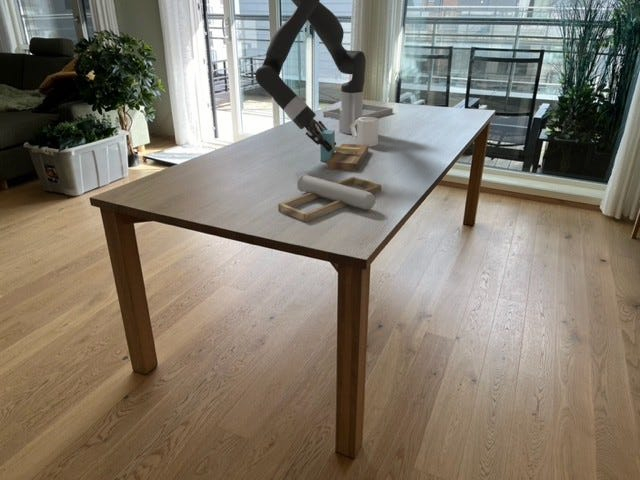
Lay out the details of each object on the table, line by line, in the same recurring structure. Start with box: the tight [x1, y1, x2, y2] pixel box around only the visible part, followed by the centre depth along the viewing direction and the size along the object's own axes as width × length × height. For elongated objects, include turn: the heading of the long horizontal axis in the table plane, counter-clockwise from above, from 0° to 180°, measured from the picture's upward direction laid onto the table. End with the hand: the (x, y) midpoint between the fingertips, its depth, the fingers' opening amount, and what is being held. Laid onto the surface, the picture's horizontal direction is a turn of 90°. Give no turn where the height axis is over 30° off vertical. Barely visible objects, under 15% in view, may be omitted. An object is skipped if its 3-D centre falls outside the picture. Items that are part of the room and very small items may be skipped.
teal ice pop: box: [319, 129, 360, 163], centre depth 170 cm, size 14×5×10 cm, turn 75°
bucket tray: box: [322, 103, 394, 120], centre depth 241 cm, size 21×29×2 cm
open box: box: [326, 143, 369, 172], centre depth 172 cm, size 10×24×3 cm, turn 165°
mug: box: [350, 117, 380, 147], centre depth 190 cm, size 12×9×10 cm
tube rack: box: [277, 176, 382, 223], centre depth 136 cm, size 11×31×2 cm, turn 135°
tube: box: [296, 173, 376, 211], centre depth 134 cm, size 5×5×25 cm
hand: (332, 147), depth 171 cm, fingers closed on teal ice pop, 5 cm apart
